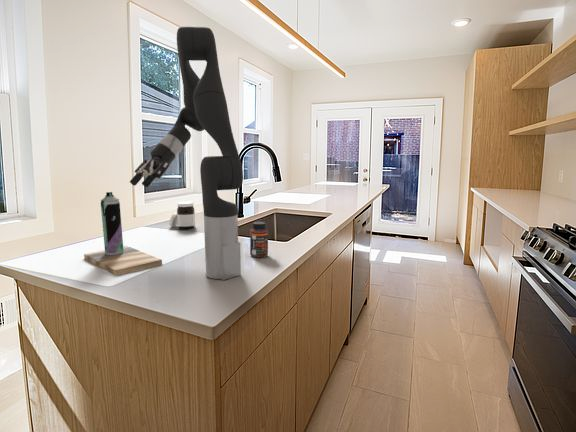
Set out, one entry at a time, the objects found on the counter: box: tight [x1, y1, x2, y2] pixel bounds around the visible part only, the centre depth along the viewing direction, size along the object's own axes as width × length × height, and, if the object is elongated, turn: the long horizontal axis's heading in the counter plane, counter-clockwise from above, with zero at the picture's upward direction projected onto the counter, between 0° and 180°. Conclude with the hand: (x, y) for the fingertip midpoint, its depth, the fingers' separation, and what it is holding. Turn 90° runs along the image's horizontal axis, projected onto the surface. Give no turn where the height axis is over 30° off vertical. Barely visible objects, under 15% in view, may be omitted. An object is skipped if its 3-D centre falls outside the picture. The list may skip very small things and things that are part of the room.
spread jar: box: [168, 201, 196, 231], centre depth 167 cm, size 12×11×12 cm
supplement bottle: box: [249, 221, 269, 259], centre depth 123 cm, size 6×6×11 cm
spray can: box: [100, 191, 124, 255], centre depth 119 cm, size 6×6×20 cm
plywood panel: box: [83, 245, 163, 276], centre depth 117 cm, size 24×14×2 cm, turn 48°
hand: (138, 184), depth 124 cm, fingers open, 8 cm apart
